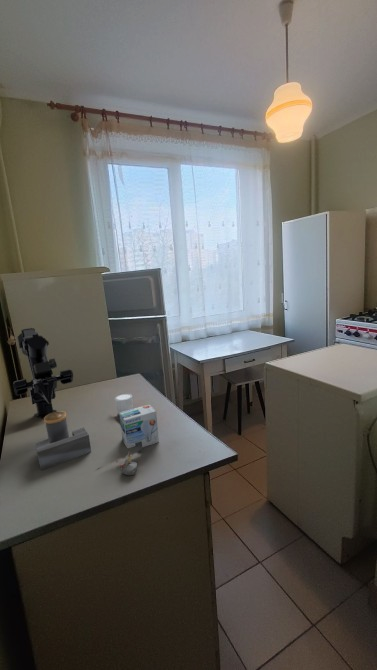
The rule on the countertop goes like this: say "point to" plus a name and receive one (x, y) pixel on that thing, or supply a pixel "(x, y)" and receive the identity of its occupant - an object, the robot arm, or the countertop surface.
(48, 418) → the gray cup
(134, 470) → the figurine
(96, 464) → the countertop surface
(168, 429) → the countertop surface
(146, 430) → the light bulb box
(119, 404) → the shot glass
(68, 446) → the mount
